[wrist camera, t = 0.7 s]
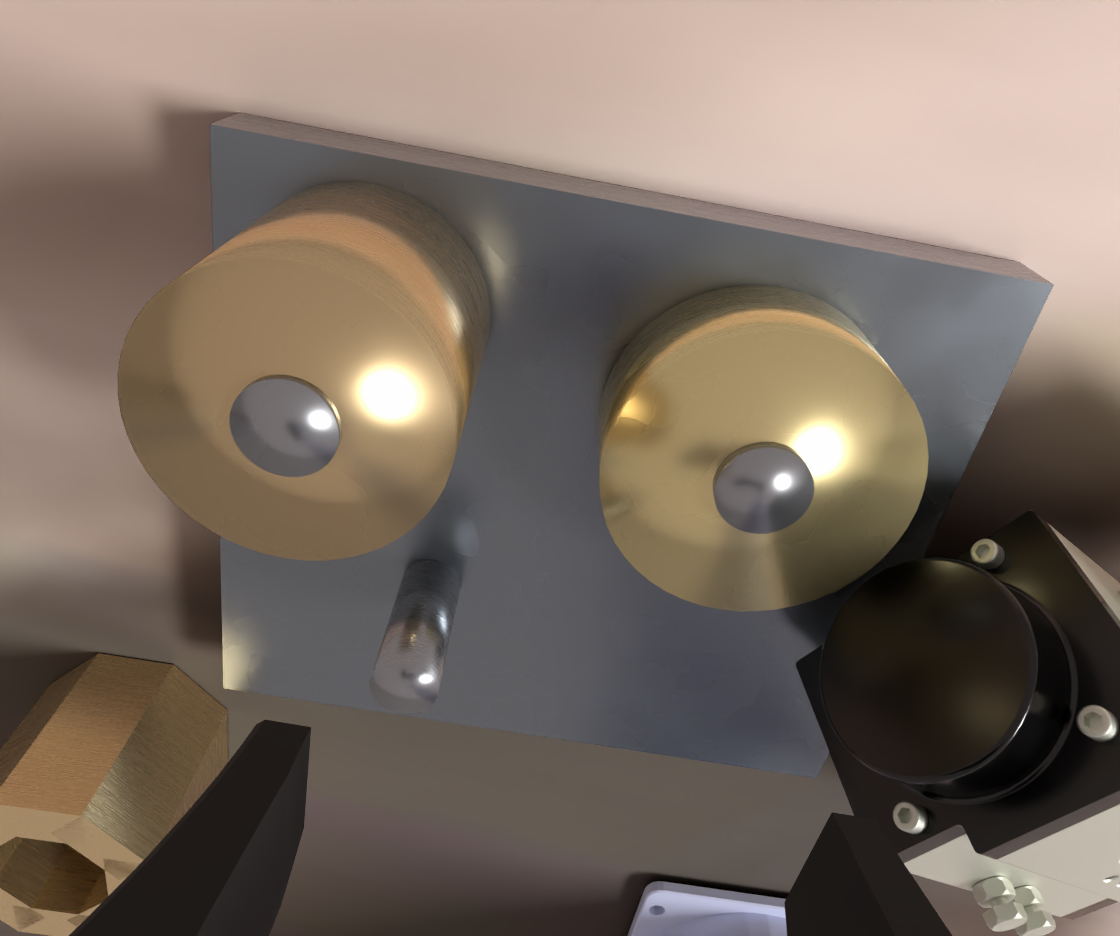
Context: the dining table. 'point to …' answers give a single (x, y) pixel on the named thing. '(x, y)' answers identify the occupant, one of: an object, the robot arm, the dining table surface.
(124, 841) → the tan hollow octagonal prism
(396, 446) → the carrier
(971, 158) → the dining table surface
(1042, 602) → the pneumatic valve
